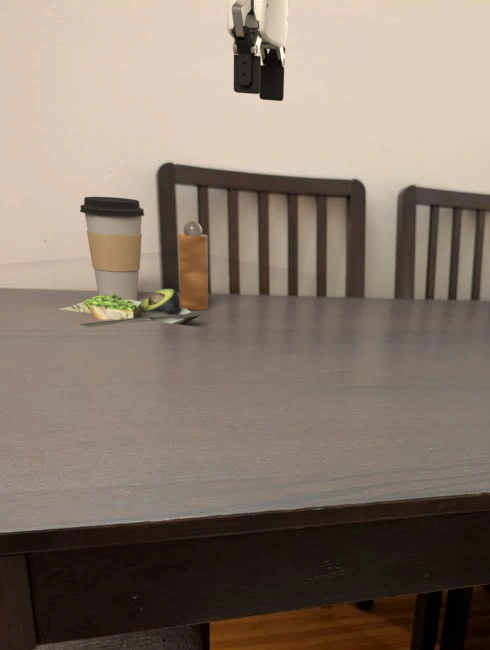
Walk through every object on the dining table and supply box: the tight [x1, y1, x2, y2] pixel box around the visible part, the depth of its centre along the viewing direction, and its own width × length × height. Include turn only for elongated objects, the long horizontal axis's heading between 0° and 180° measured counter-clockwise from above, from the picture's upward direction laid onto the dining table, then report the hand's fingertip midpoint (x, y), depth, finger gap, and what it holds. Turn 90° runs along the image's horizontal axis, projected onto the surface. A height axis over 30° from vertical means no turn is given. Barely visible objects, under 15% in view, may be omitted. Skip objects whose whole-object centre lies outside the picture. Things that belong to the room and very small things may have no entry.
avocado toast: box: [59, 288, 203, 329], centre depth 99 cm, size 19×18×5 cm
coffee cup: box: [79, 196, 145, 301], centre depth 114 cm, size 9×9×15 cm
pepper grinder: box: [177, 220, 209, 311], centre depth 113 cm, size 4×4×13 cm
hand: (259, 96), depth 93 cm, fingers open, 9 cm apart
